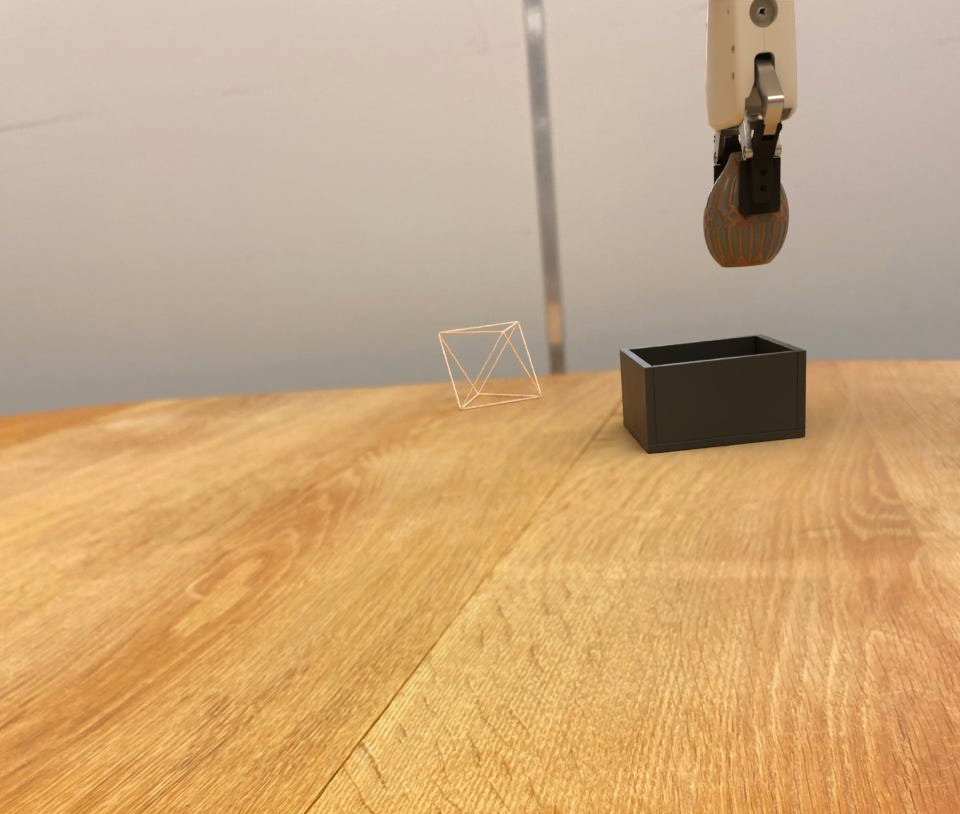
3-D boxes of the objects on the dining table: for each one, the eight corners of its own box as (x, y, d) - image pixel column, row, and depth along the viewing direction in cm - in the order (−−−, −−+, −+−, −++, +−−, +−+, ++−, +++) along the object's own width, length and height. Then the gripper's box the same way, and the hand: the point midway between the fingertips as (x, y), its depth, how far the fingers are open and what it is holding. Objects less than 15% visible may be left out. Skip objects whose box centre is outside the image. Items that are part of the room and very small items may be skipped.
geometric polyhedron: (439, 401, 139) (430, 330, 136) (517, 388, 142) (510, 318, 138) (467, 414, 128) (458, 337, 124) (551, 400, 131) (545, 324, 127)
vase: (788, 264, 85) (789, 145, 82) (700, 271, 87) (698, 155, 84) (788, 258, 91) (790, 147, 88) (707, 265, 93) (705, 156, 90)
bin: (761, 410, 112) (761, 334, 109) (805, 436, 98) (806, 350, 95) (623, 425, 112) (619, 349, 109) (648, 453, 98) (644, 367, 95)
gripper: (834, -69, 73) (827, 209, 80) (760, -18, 89) (759, 210, 96) (726, -58, 73) (728, 219, 80) (672, -9, 89) (677, 218, 96)
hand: (745, 212), depth 88 cm, fingers closed on vase, 6 cm apart
